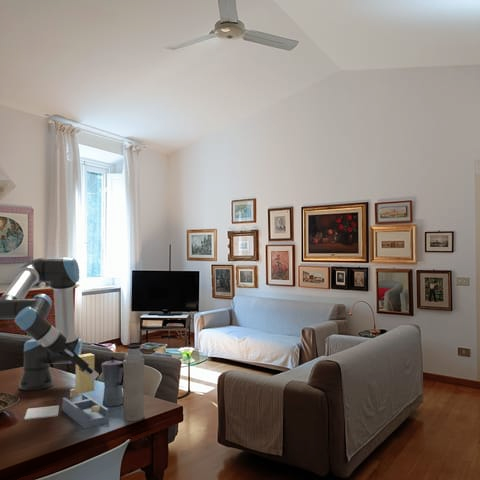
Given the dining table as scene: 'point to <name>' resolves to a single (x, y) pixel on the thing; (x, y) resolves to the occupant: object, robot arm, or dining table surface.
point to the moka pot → (112, 382)
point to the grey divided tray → (86, 410)
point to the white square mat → (42, 412)
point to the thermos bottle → (133, 384)
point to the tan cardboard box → (84, 375)
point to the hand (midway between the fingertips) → (94, 375)
